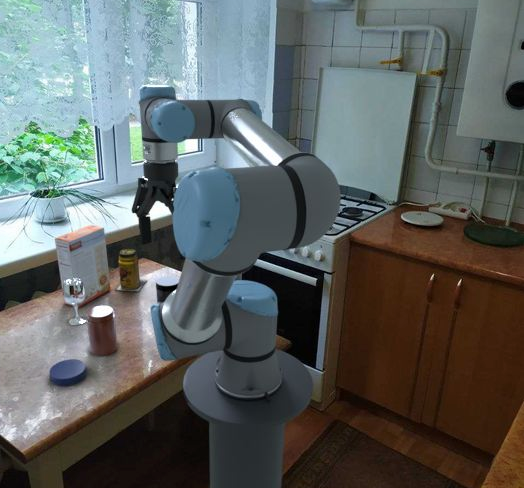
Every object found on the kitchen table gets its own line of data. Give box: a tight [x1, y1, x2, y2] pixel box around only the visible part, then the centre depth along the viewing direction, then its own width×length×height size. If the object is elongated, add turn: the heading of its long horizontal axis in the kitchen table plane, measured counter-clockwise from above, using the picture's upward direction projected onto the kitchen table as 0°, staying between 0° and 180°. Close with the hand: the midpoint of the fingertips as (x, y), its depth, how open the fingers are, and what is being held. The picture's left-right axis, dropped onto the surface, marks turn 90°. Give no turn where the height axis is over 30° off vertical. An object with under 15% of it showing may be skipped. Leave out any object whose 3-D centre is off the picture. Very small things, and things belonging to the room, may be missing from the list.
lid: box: [49, 358, 87, 387], centre depth 113 cm, size 8×8×2 cm
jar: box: [86, 305, 119, 357], centre depth 123 cm, size 7×7×11 cm
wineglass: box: [62, 278, 87, 326], centre depth 135 cm, size 6×6×12 cm
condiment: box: [115, 248, 147, 292], centre depth 157 cm, size 7×8×12 cm
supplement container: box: [155, 275, 180, 304], centre depth 141 cm, size 7×7×10 cm
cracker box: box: [54, 224, 111, 308], centre depth 147 cm, size 14×6×21 cm, turn 154°
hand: (164, 250), depth 116 cm, fingers open, 13 cm apart
